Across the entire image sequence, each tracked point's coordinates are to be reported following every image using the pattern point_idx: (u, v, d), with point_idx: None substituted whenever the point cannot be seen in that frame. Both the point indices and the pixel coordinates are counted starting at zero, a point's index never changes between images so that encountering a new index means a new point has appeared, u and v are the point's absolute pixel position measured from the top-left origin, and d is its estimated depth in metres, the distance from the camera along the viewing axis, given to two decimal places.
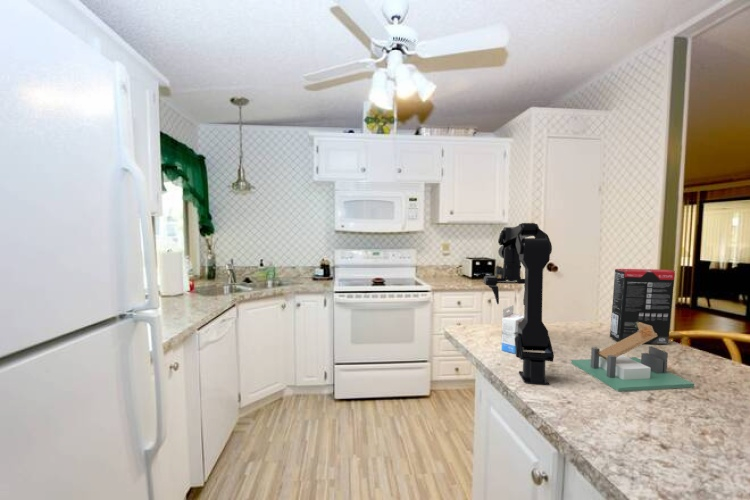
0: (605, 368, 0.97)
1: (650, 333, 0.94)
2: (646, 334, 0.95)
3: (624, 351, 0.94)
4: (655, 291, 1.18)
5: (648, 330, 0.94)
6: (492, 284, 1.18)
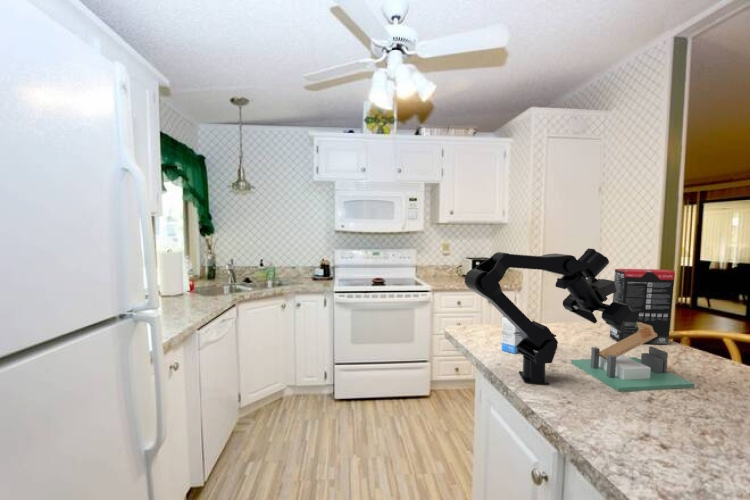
0: (605, 368, 0.97)
1: (650, 333, 0.94)
2: (646, 334, 0.95)
3: (624, 351, 0.94)
4: (655, 291, 1.18)
5: (648, 330, 0.94)
6: (568, 309, 1.03)
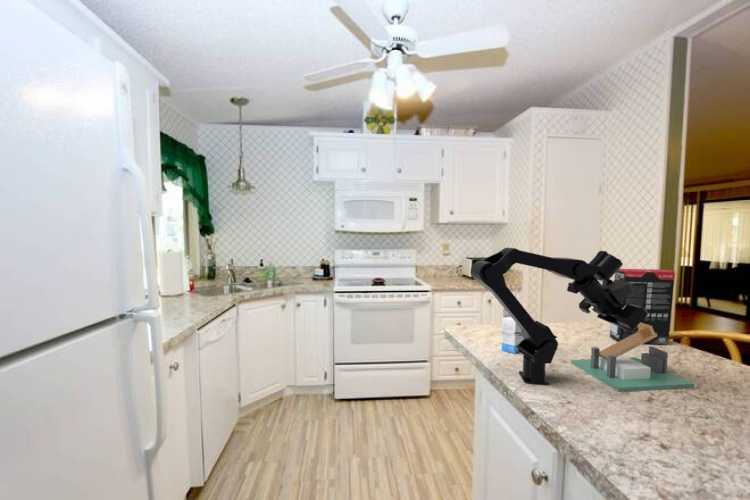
0: (605, 368, 0.97)
1: (650, 333, 0.94)
2: (646, 334, 0.95)
3: (624, 351, 0.94)
4: (655, 291, 1.18)
5: (648, 330, 0.94)
6: (585, 312, 1.02)
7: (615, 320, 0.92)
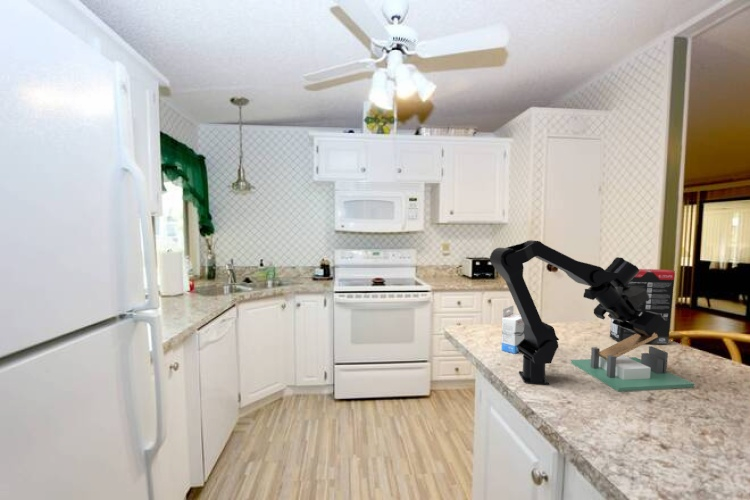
0: (605, 368, 0.97)
1: None
2: (646, 335, 0.95)
3: (624, 351, 0.94)
4: (655, 291, 1.18)
5: None
6: (600, 317, 1.02)
7: (631, 326, 0.93)
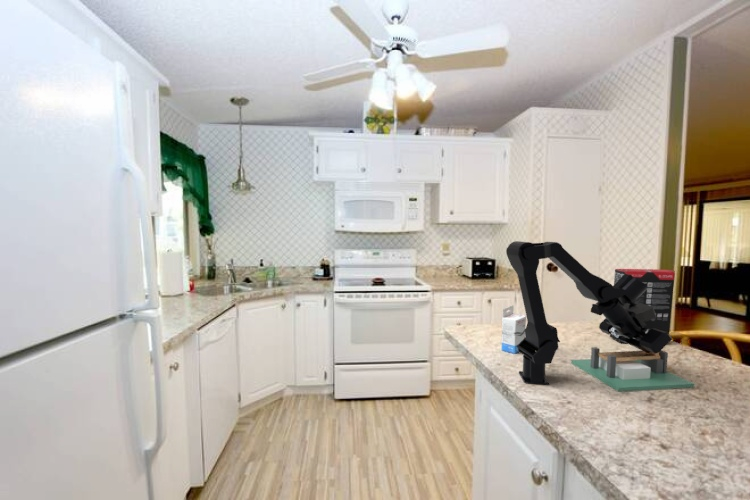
0: (605, 368, 0.97)
1: (654, 353, 0.95)
2: (650, 354, 0.96)
3: (625, 358, 0.94)
4: (655, 291, 1.18)
5: None
6: (606, 333, 1.03)
7: (637, 343, 0.93)
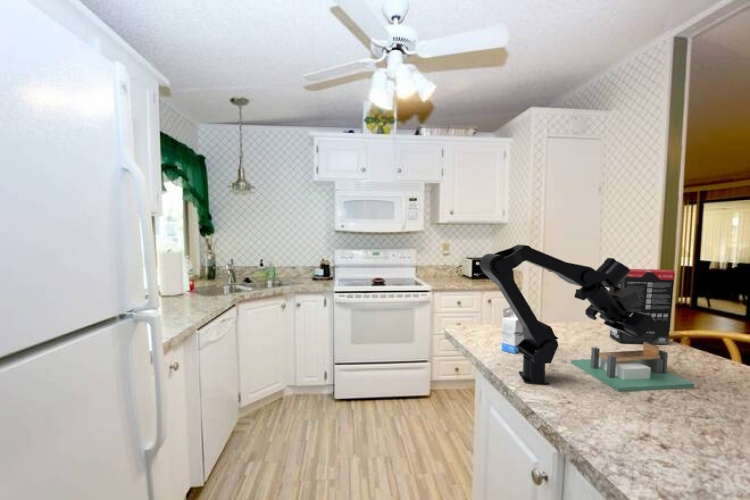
0: (605, 368, 0.97)
1: (654, 353, 0.95)
2: (650, 353, 0.96)
3: (625, 358, 0.94)
4: (655, 291, 1.18)
5: (654, 349, 0.95)
6: (592, 318, 1.02)
7: (622, 327, 0.92)
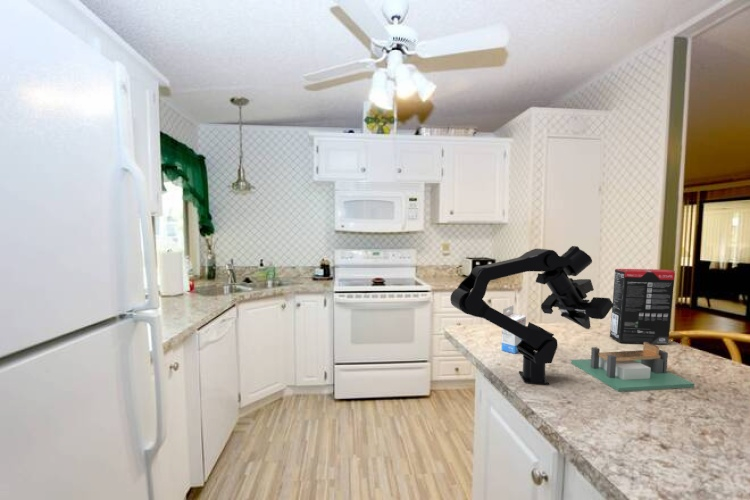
0: (605, 368, 0.97)
1: (654, 353, 0.95)
2: (650, 353, 0.96)
3: (625, 358, 0.94)
4: (655, 291, 1.18)
5: (654, 349, 0.95)
6: (548, 312, 1.00)
7: (581, 315, 0.91)
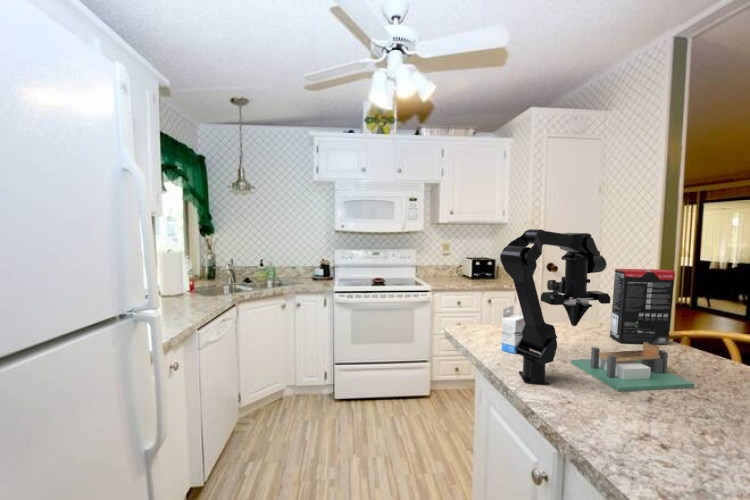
0: (605, 368, 0.97)
1: (654, 353, 0.95)
2: (650, 353, 0.96)
3: (625, 358, 0.94)
4: (655, 291, 1.18)
5: (654, 349, 0.95)
6: (559, 303, 0.96)
7: (587, 304, 0.98)
